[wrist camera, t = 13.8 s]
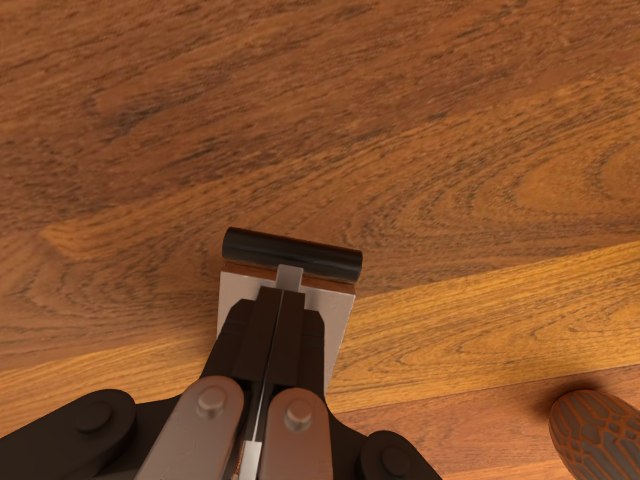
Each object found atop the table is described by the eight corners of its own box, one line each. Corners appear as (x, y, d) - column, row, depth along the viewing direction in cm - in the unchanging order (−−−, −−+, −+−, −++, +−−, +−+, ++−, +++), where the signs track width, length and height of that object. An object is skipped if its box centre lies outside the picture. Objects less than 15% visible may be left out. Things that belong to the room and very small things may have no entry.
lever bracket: (225, 262, 21) (76, 514, 8) (354, 285, 21) (392, 552, 9) (217, 373, 26) (114, 640, 13) (323, 390, 26) (320, 660, 14)
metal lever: (235, 229, 15) (223, 222, 12) (356, 251, 15) (367, 249, 13) (171, 540, 14) (144, 599, 11) (304, 556, 14) (305, 616, 12)
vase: (522, 427, 28) (599, 561, 20) (551, 374, 25) (655, 506, 17) (598, 432, 28) (705, 567, 20) (636, 378, 25) (780, 513, 17)
